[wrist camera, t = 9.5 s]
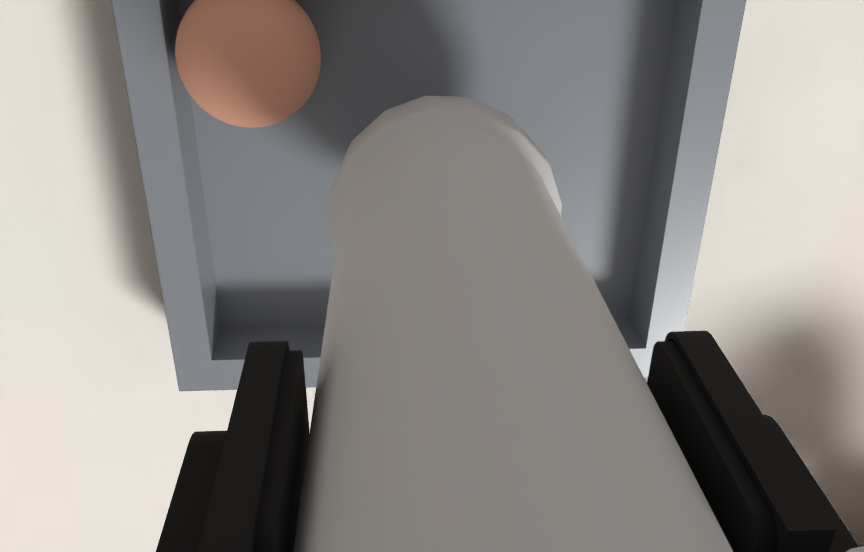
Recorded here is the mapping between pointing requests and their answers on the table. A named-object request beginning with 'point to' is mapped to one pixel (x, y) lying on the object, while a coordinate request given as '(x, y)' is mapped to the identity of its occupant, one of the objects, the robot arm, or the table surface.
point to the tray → (408, 80)
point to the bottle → (478, 363)
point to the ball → (248, 59)
